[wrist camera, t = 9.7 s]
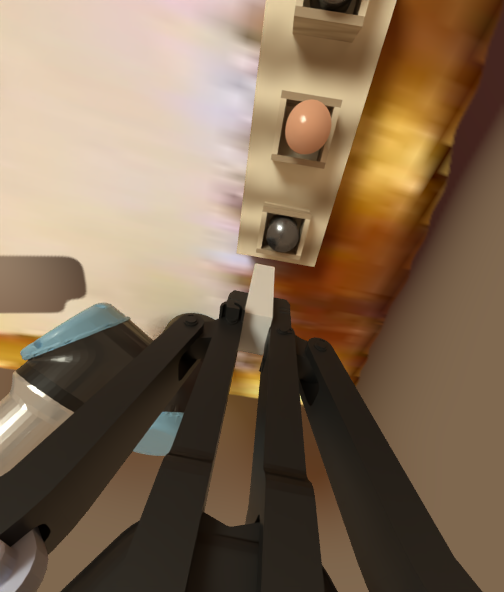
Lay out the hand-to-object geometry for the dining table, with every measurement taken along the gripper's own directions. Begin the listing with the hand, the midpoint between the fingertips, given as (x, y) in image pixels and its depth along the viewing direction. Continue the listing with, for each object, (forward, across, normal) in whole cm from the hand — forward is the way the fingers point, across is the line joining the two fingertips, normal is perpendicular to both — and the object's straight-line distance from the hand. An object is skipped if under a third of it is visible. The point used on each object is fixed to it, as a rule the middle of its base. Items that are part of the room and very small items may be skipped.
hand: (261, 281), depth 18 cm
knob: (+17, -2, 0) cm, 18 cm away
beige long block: (+24, -2, -11) cm, 26 cm away
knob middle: (+14, -2, -11) cm, 18 cm away
